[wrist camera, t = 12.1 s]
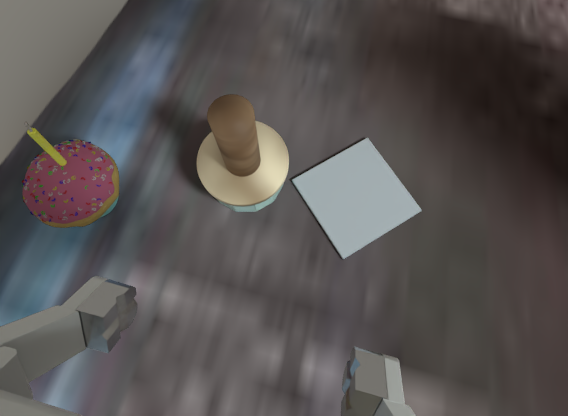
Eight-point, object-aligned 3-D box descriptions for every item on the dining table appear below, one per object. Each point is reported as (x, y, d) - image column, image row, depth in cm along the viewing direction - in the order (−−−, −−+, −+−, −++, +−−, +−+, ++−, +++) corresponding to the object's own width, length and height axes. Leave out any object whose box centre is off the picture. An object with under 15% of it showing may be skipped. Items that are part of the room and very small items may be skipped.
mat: (366, 139, 38) (367, 137, 38) (420, 211, 36) (421, 210, 35) (292, 181, 37) (292, 179, 36) (342, 259, 34) (343, 258, 34)
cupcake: (77, 154, 37) (-13, 85, 26) (149, 172, 37) (89, 110, 25) (43, 226, 35) (-73, 186, 24) (119, 246, 34) (38, 215, 23)
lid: (260, 109, 35) (253, 47, 27) (305, 178, 33) (313, 133, 25) (183, 149, 34) (150, 96, 25) (224, 223, 32) (204, 192, 23)
